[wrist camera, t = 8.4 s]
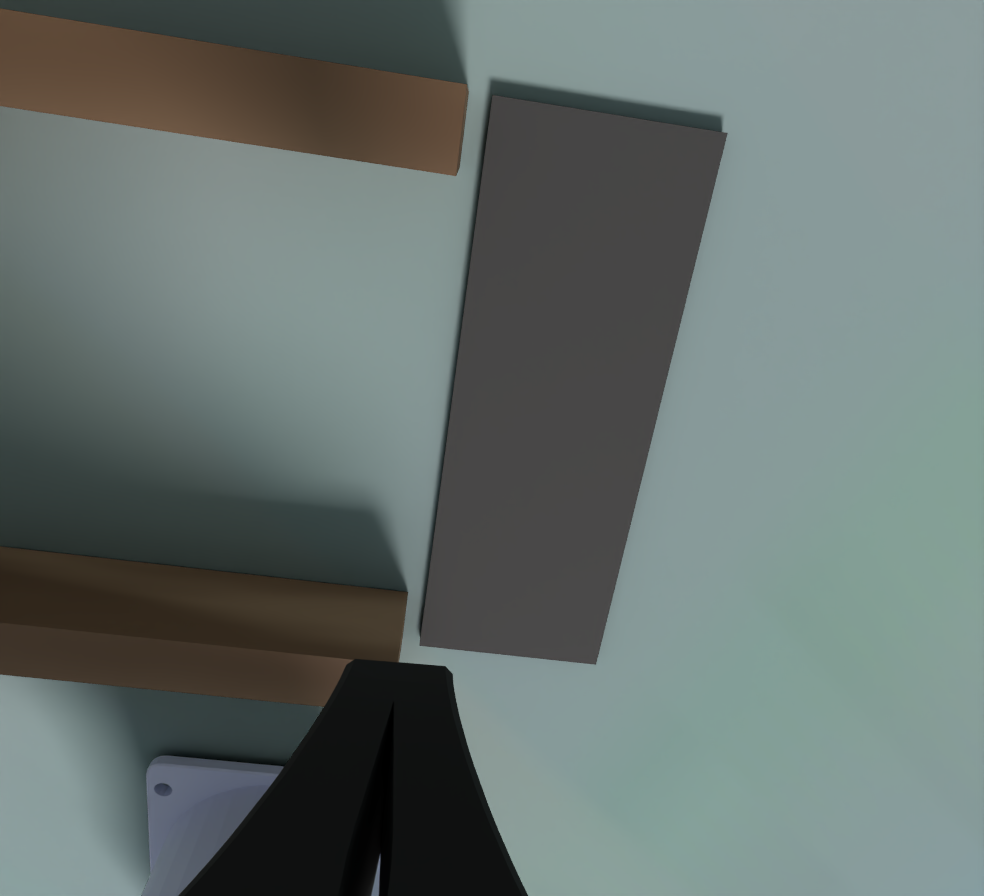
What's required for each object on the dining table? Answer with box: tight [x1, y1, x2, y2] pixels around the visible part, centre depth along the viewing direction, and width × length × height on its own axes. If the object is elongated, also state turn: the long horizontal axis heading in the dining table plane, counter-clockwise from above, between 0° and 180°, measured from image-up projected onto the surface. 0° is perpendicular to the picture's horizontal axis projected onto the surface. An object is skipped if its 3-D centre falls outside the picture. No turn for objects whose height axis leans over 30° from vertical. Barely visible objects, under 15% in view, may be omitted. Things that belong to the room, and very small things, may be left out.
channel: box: [0, 9, 469, 707], centre depth 17 cm, size 14×14×3 cm
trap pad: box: [420, 95, 727, 664], centre depth 19 cm, size 14×5×1 cm, turn 172°
